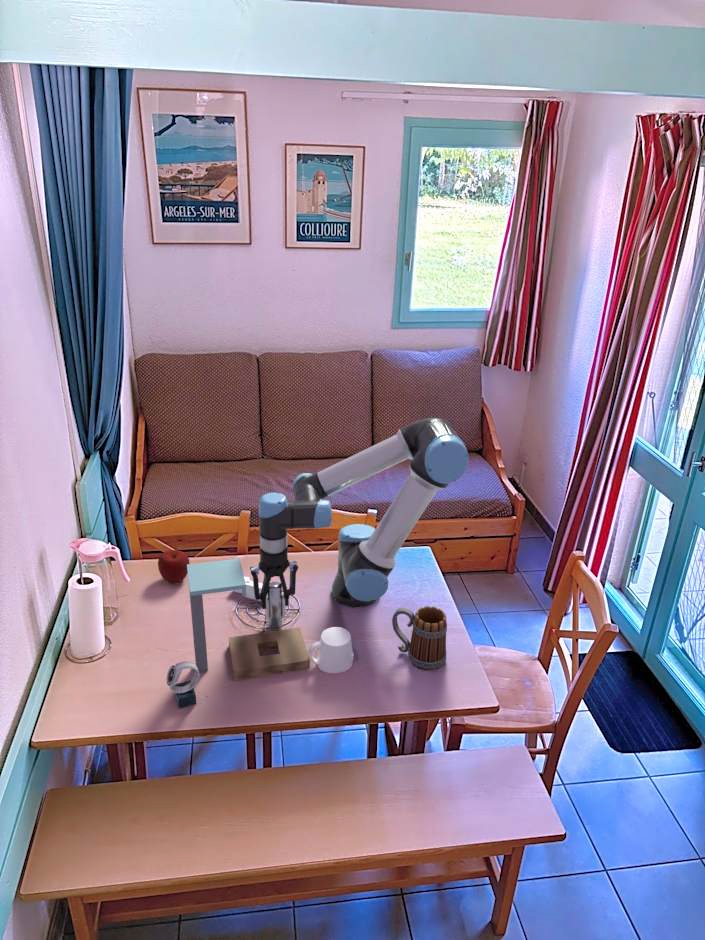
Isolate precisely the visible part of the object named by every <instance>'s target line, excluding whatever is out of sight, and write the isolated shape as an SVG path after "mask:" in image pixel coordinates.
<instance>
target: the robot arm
mask: <svg viewBox="0 0 705 940" xmlns="http://www.w3.org/2000/svg"><path fill="white" fill-rule="evenodd" d="M406 460H411V461H410V463H409V465H408V466H409V471H410V474H409V475H408V476H407V478H406V480H405V482H404V483H403V485H402V486H401V488H400V489H399V491H398V493H397V494H396V496H395V497H394V499H393V501H392V502H391V503H390V505H389V507H388V509H387V510H386V512H385V514H384V515H383V517H382V518H381V520H380V521H379V523H378V524H377V526H376V528H375V527H373V526H371V525H367V524H364V523H363V524H362V523H354V524H349V525H346V526H343V527H342V528H340V530H339V533H338V538H337V540H338V551H337V552H338V553H337V554H338V556H337V558H338V559H337V560H338V561H337V572H336V575H335V578H334V580H333V582H332V584H331V596H332V598H333V599H334V600H335V601H336V602H337V603H338V604H341V605H342V606H345V607H349V608H359V609H360V608H365V607H369V606H372V605H374V604H375V603H377V602H378V600H379V599H380V598H382V597H383V596H384V595H385V594H386V593H387V592H388V589H389V584H390V583H389V579H388V578H389V575H390V574H392V571H393V570H394V568H395V566H396V563H397V562H396V558H395V557H396V555H397V553H398V552H399V550H400V549H401V547H402V545H403V544H404V542H405V541H406V540H407V538H408V536H409V535H410V533H411V532H412V531H413V529H414V528H415V526H416V524H417V522H418V521H419V519H420V518H421V517H422V515H423V513H424V512H425V510H426V509H427V507H428V506H429V504H430V503H431V501H432V499H433V498H434V496H435V495H436V493H437V491H439V490H444V489H446V488H447V487H448V486H449V484H452V483H453V482H457V481H458V480H459V479H461V478H462V477H463V476H464V474H465V473H466V472H467V469H468V466H469V462H470V461H469V460H470V459H469V452H468V449H467V446H466V444H465V442H464V441H463V439H461V438H460V436H459V435H458V434H457V432H456V430H455V428H454V426H453V425H452V424H451V423H450V422H449V421H447V420H445V419H442V418H439V417H428V418H423V419H419V420H416V421H414V422H411V423H409V424H407V425H404V426H403V427H401V428H398V431H397V433H396V434H394V435H392V436H390V437H389V438H386V439H384V440H382V441H380V442H377V443H376V444H374V445H372V446H370V447H367V448H366V449H363V450H362V451H359V452H357V453H355V454H352V455H351V456H349V457H347V458H344V459H343V460H341V461H339V462H337V463H335V464H333V465H330V466H329V467H327V468H324V469H322V470H321V471H318V472H315V473H310V472H309V473H308V472H307V473H306V472H304V473H299V475H297V476H296V477H295V478H294V480H293V483H292V494H293V499H294V500H291V501H289V500H287V497H286V495H285V494H283V493H278V492H276V491H275V492H268V493H264V494H263V495H262V496H261V497H260V498H259V500H258V526H259V527H258V528H259V529H258V530H259V531H258V533H259V559H260V560H259V563H258V565H257V566H255V567H254V566H250V567H249V570H250V574H251V577H252V581H253V585H254V595H255V599H256V600H255V599H254V600H255V601H258V600H259V599H260V600H261V601H260V606H261V609H262V610H264V614H265V618H266V621H267V620H268V619H269V600H268V596H267V593H268V588H269V583H270V582H272V581H271V580H272V578H273V577H274V578H275V577H278V578H279V581H280V583H281V585H282V618H286V607H289V605H290V604H289V603H290V602H289V601H290V600H289V599H290V596H294V595H296V580H297V578H296V577H297V571H298V570H299V565H298V562H297V561H296V560H293V561H290V560H289V558H288V557H289V556H288V530H304V529H305V530H308V529H309V530H310V529H311V530H312V529H316V530H317V529H322V528H323V529H324V528H329V527H330V526H331V525H332V521H333V520H332V519H333V518H332V517H333V516H332V515H333V512H332V503H331V502H330V501H329V500H327V499H326V498H327V497H330V496H331V495H334V494H336V493H338V492H340V491H342V490H345V489H347V488H349V487H350V486H353V485H355V484H358V483H359V482H361V481H364V480H366V479H368V478H371V477H372V476H374V475H377V474H379V473H380V472H383V471H384V470H387V469H389V468H392V467H393V466H396V465H397V464H400V463H402V462H404V461H406ZM288 568H289V588H288V587H287V584H286V579H285V577H284V573H285V572H286V570H287V569H288ZM260 571H261V572H262V573H263V575H264V576H263V581H262V584H263V585H262V590H261V593H259V584H258V582H259V577H258V576H259V575H260Z"/></svg>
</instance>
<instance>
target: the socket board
mask: <svg viewBox="0 0 705 940" xmlns="http://www.w3.org/2000/svg"><path fill="white" fill-rule="evenodd" d="M228 648H229V653H230V658H231V664H232V670H233V671H232V672H233V677H234V681H235V682H236V681H240V680H241V681H242V680H249V679H253V678H261V677H266V676H272V675H273V676H274V675H278V674H285V673H292V672H298V671H299V672H300V671H304V670H310V669H311V659H310V656H309V651H308V649H307V646H306V643H305V640H304V636H303V634H302V630H301V627H292V628H285V629H278V630H271V631H263V632H258V633H251V634H243V635H237V636H229V637H228ZM273 650H277V653H274V654H269V655H263V656H261V654H260V653H261V652H265V651H273Z"/></svg>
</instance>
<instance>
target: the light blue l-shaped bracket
mask: <svg viewBox="0 0 705 940" xmlns="http://www.w3.org/2000/svg"><path fill="white" fill-rule="evenodd" d="M187 570H188V573H187V578H188V588H189V590H188V591H189V600H190V610H191V611H190V613H191V623H192V634H193V635H192V637H193V648H194V658H195V660H194V661H195V665H196V666H197V668H198V671H199V673H200V672H205V671H206V672H207V671H209V665H208V651H207V639H206V638H207V637H206V636H207V635H206V625H205V614H204V600H203V599H204V597H203V595H208V594H216V593H217V594H218V593H224V592H230V591H232V592H233V591H234V590H240V589H242V597H243V598H247V597H246V583H245V579H244V576H245V575H244V571H243V565H242V562H241V558H231V559H223V560H212V561H206V562H199V563H198V562H197V563H189V564H187Z"/></svg>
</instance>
